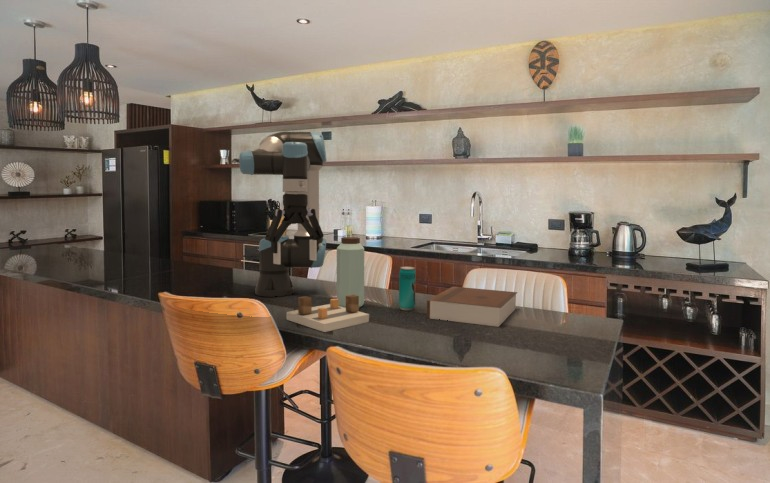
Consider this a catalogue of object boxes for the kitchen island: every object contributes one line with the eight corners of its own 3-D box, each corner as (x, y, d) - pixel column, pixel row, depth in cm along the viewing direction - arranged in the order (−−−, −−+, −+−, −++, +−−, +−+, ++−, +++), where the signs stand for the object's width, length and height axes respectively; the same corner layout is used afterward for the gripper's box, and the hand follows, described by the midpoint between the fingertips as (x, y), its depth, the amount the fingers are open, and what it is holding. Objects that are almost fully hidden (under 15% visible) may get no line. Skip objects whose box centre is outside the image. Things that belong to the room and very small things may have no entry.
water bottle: (351, 301, 194) (351, 236, 191) (369, 306, 187) (370, 238, 184) (330, 305, 187) (330, 237, 184) (348, 310, 180) (349, 239, 177)
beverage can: (413, 311, 180) (414, 269, 178) (397, 310, 181) (398, 268, 179) (416, 307, 185) (416, 266, 184) (400, 306, 186) (400, 266, 185)
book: (426, 319, 170) (426, 300, 170) (452, 303, 196) (452, 286, 195) (500, 328, 160) (500, 308, 160) (517, 310, 185) (517, 292, 185)
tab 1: (298, 312, 164) (298, 297, 164) (306, 311, 166) (306, 296, 166) (303, 314, 162) (303, 299, 161) (311, 313, 164) (311, 297, 164)
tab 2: (345, 310, 167) (345, 295, 167) (352, 309, 170) (352, 294, 169) (351, 312, 165) (351, 297, 165) (358, 311, 167) (358, 296, 167)
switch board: (286, 319, 167) (286, 302, 166) (330, 310, 179) (330, 295, 179) (324, 332, 152) (324, 314, 152) (369, 321, 165) (369, 305, 164)
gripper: (266, 193, 146) (267, 267, 148) (334, 193, 164) (334, 259, 166) (252, 192, 151) (253, 264, 153) (319, 193, 169) (319, 257, 171)
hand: (295, 262), depth 159 cm, fingers open, 13 cm apart
